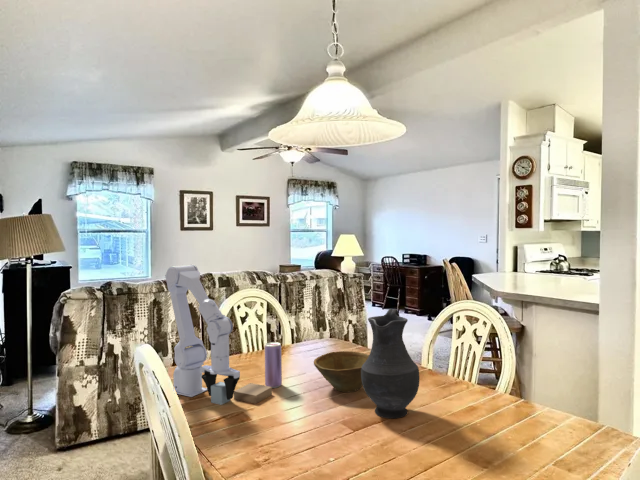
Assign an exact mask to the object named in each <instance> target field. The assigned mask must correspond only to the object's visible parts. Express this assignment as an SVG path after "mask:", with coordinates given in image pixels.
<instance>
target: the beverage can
mask: <svg viewBox="0 0 640 480" xmlns="http://www.w3.org/2000/svg"><path fill="white" fill-rule="evenodd" d="M281 344H282V343H280V342H277V341H276V342H275V341H270V342H267V343H265V344H264V386H269V387H272V389H276V388H280V387H281V386H282V384H283V380H282V378H283V375H282V374H283V373H282V370H283V366H282V364H283V363H282V359H283V358H282V345H281Z"/></svg>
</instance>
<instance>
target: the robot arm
mask: <svg viewBox="0 0 640 480" xmlns="http://www.w3.org/2000/svg"><path fill="white" fill-rule="evenodd" d="M164 276H165V280H166V285H167V290H168V292H169V295H170V301H171V305H172V309H173V310H172V311H173V314H174V320H175V324H176V329H177V332H178V333H177V334H178V338H179V341H178V342H177V343H176V345H175V346H174V348H173V349H174V363H175V364H176V367H175V368H174V371H173V376H172V377H173V380H172V381H173V388H174V387H175V390H176V392H177V394H176V395H180V396H181V395H182V396H184V397H189V398H192V397H196V396H197V395H200V394H202V393H203V392H206V391H207V393H208V396H209V397H211V386H212V385H214V384H216V383H217V382H216V381H217V377H218V375H219V376H223V377H224V376H225V377H226V378H223V382H224V383H225V386H226V395H227V400H230V399H232V400H233V399H234V391H235V390H236V387H237V385H238V382H239V380H240V377H241V371H240V370H237V369H234V368H232V367H230V334H231V333H232V332H233V329H234V328H233V326H234V325H233V322H232V320H231V318H230V317H228V316H226V315H225V314H223V313H222V311H221V310H220V308H219V306H218V305H217V303H216V301H215V300H214V299H211V298H210V297H209V296H208V294H207V292H206V290H205V288H204V286H203V284H202V281H201V280H200V277H201V273H200V271H199V269H198V267H197V266H196V265H195V264H189V265H175V266H174V265H171V266H169V267H168V268H167V271H166V273H165V275H164ZM188 291H190V292H191V294H192V296H193V297H194V298H195V299H196V301H197V302H198V304H199V305H198V311H199V312H200V315H201V316H202V318H203V320H204V321H205V323H206V324H207V327H206V333H207V335H208V340H209V342H210V357H211V358H210V360H211V361H210V362H211V364H210V365H206V364H205V363H204V362H205V361H206V360H207V357H208V352H207V349H206V347H205V345H204V342H203V340H202V339H201V338H199V337H197V336H196V332H195V328H194V323H193V319H192V315H191V309H190V306H189V302H188V297H187V292H188ZM204 364H205V365H204ZM203 382H204V384H205V386H206V387H203ZM230 401H231V400H230Z"/></svg>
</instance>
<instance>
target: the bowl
mask: <svg viewBox="0 0 640 480" xmlns="http://www.w3.org/2000/svg"><path fill="white" fill-rule="evenodd" d="M369 355H370V354H368V353H363V352H359V351H353V350H352V351H350V350H349V351H347V350H346V351H345V350H342V351H341V350H339V351H330V352H326V353H323V354H321V355H319V356H317V357H316V358H315V359H314V361H313V365H314V367H315V369H317V371H318V372H319V373H320V374H321V376H322V377H323V378H324V379H325V380H326V381H327V382H328V383H329V384H330V385H331V386H332V387H333V389H335V390H336V391H338V392H342V393H352V392H357V391H358V390H360V388H361V387H363V385H362V380H361V367H362V365H363V364H364V363H365V362H366V360H367V359H368V357H369Z"/></svg>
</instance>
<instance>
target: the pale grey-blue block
mask: <svg viewBox="0 0 640 480" xmlns="http://www.w3.org/2000/svg"><path fill="white" fill-rule="evenodd" d="M230 401H231V399H230V400H227V395H226V386H225V383H224V381H219V382H216V384H214V385H212V386H211V396H210V403H211V404H216V405H220V406H223V405H224V404H226V403H229V402H230Z"/></svg>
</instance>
